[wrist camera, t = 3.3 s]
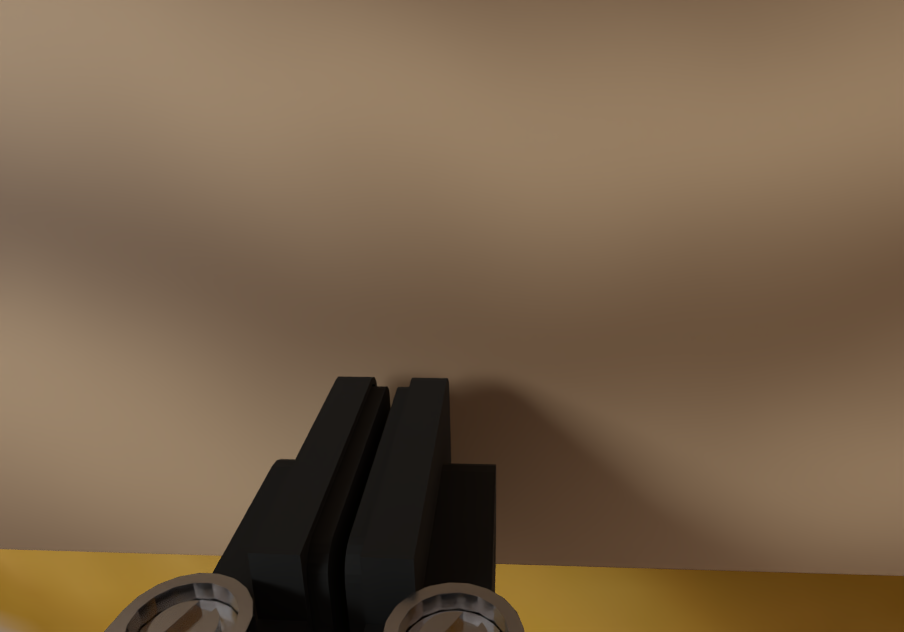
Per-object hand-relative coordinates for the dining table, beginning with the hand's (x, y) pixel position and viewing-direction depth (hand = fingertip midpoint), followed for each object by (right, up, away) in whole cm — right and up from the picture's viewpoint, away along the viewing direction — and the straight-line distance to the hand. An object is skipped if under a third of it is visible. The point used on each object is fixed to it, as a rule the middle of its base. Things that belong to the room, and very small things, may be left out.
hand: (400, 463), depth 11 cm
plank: (0, +3, +1) cm, 3 cm away
